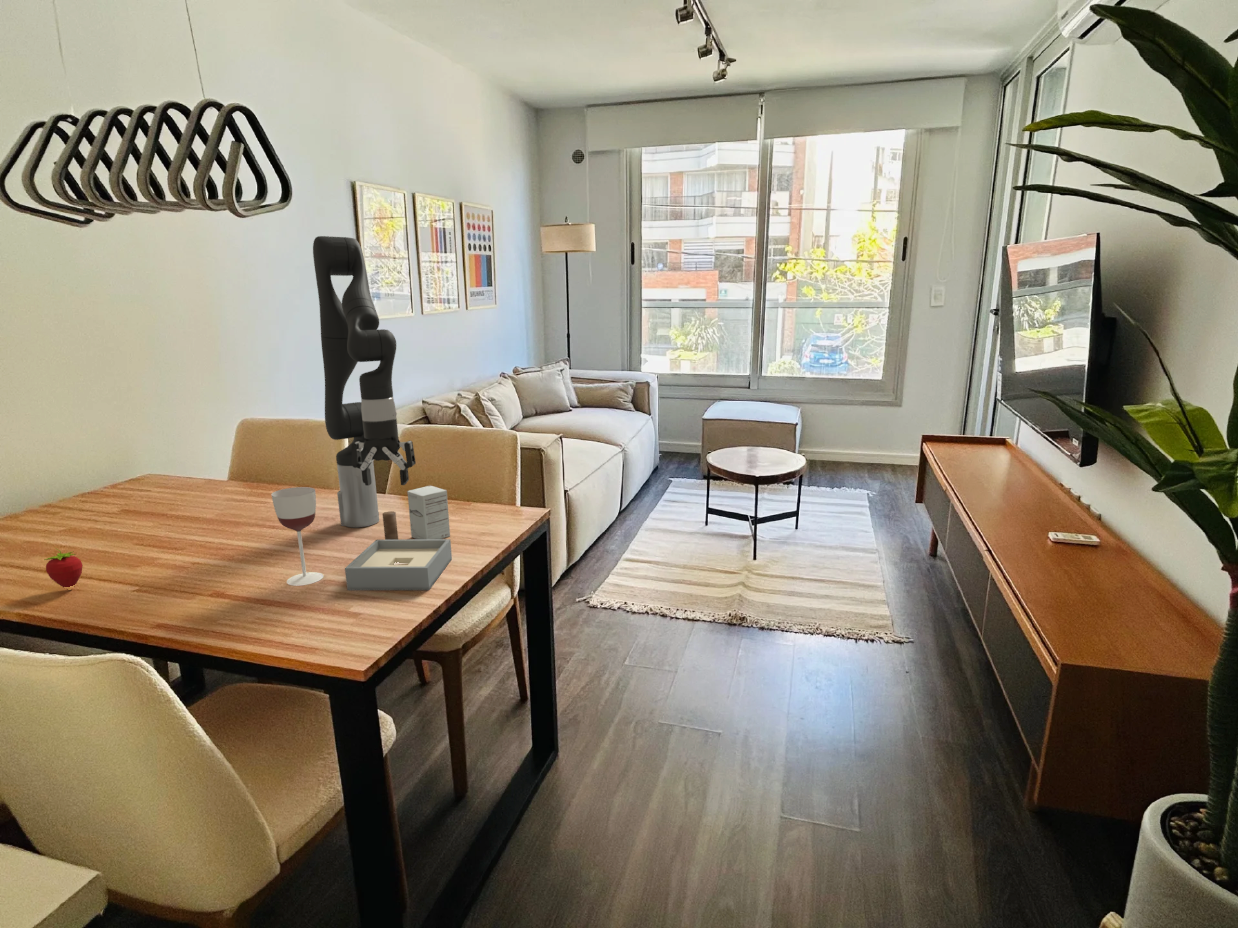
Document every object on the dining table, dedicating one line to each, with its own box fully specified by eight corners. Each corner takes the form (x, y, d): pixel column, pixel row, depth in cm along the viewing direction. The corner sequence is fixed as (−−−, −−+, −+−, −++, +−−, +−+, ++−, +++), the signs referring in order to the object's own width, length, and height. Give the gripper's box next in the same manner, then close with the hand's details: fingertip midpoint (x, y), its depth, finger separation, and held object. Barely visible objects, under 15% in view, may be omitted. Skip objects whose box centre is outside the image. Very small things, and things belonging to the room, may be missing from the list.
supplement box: (410, 537, 178) (406, 490, 175) (435, 530, 183) (431, 484, 180) (426, 544, 173) (421, 495, 170) (451, 536, 178) (447, 489, 176)
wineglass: (294, 571, 157) (282, 487, 152) (332, 571, 157) (321, 486, 152) (276, 586, 149) (263, 497, 144) (316, 585, 149) (304, 497, 144)
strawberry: (62, 598, 145) (52, 554, 142) (44, 592, 148) (34, 548, 146) (94, 588, 150) (84, 544, 147) (76, 582, 153) (66, 539, 151)
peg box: (347, 590, 146) (344, 568, 145) (378, 559, 163) (376, 539, 162) (429, 590, 146) (427, 567, 144) (451, 559, 163) (450, 539, 161)
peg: (384, 554, 166) (380, 515, 164) (389, 550, 169) (385, 511, 167) (396, 554, 166) (392, 515, 164) (401, 550, 169) (397, 511, 167)
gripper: (342, 420, 157) (350, 489, 160) (404, 419, 156) (410, 488, 160) (355, 415, 164) (363, 481, 168) (414, 414, 163) (420, 480, 167)
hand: (386, 484), depth 164 cm, fingers open, 8 cm apart
